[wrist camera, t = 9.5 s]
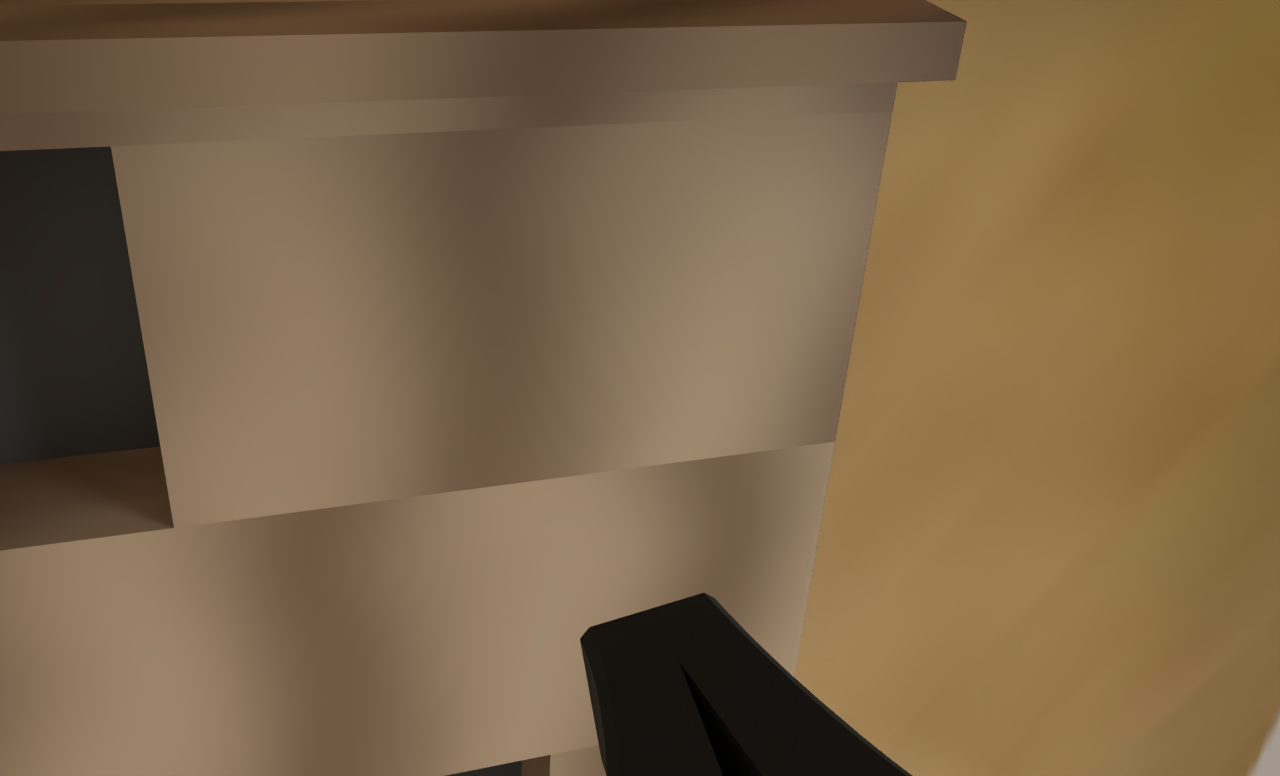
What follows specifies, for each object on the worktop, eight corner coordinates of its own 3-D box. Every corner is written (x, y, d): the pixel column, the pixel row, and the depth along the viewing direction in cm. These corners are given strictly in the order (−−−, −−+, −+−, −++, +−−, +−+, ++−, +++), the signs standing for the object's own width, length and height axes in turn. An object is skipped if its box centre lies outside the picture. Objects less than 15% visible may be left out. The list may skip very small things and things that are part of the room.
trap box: (837, -45, 20) (1029, 52, 15) (710, 858, 31) (799, 1064, 27) (-1126, -41, 13) (-1803, 136, 9) (-374, 1109, 24) (-498, 1444, 20)
